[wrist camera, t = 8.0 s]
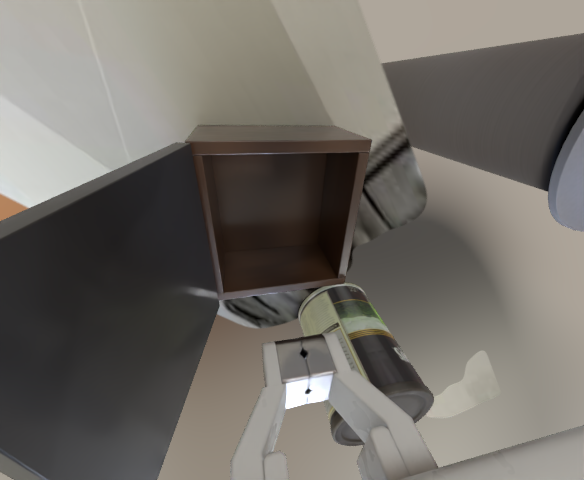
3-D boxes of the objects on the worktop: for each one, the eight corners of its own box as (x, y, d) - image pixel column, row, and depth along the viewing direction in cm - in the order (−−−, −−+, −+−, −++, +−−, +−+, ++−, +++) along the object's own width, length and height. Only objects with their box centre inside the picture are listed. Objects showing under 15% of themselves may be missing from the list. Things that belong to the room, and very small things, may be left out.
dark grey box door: (-183, 332, 3) (-251, 330, 3) (135, 539, 10) (115, 538, 10) (190, 142, 13) (176, 142, 13) (219, 305, 20) (210, 305, 20)
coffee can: (360, 270, 32) (436, 376, 20) (370, 316, 38) (433, 419, 26) (287, 299, 32) (321, 423, 20) (308, 341, 38) (344, 456, 26)
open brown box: (335, 125, 22) (372, 139, 16) (321, 244, 28) (344, 284, 23) (197, 125, 19) (184, 141, 14) (218, 254, 26) (215, 301, 20)
